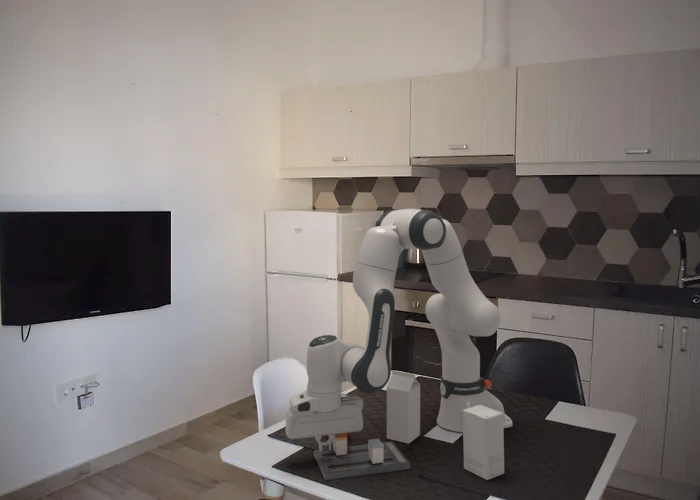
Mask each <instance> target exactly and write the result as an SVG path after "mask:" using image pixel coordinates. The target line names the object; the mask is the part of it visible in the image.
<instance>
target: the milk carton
mask: <svg viewBox="0 0 700 500" xmlns="http://www.w3.org/2000/svg"><path fill="white" fill-rule="evenodd" d="M391 372H392V373H391V375H390V378H389V381H388V382H387V384H386V438H387V439H388V440H390V441H396V442H399V443H405V444H410V443H412V442H413V441H414V440H416V439H417V438H418V437H419V436H420V435H421V384H420V383H419V381H418V380H417V378H416V373H411V372H404V371H398V370H395V369H394V370H392V369H391Z"/></svg>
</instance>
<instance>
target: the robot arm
mask: <svg viewBox="0 0 700 500" xmlns="http://www.w3.org/2000/svg"><path fill="white" fill-rule="evenodd" d="M376 222H377V223H376V225H375V226H373V227H370V228H369V229H367V231H366V233H365V235H364V237H363V239H362V242H361V244H360V246H359V250H358V253H357V256H356V260H355V264H354V267H353V269H354V270H353V274H352V287H353V290H354V292H355V293H356V295H357V296H358V297H359V298H360V300H361V301H362V302H363V304H364V305H365V307H366V310H367V313H368V314H367V315H368V325H367V334H366V340H365V346H364V347H363V346H361V345H358V344H357V343H349V342H347V341H344V340H343V339H340V338H338V336H336V335H332V334H328V335H327V334H325V335H320V336H316V337H315V338H313V339H312V340H311V341H310V342H309V344H308V346H307V352H306V353H307V354H306V374H307V379H308V381H307V385H306V390H305V391H302V392H300V393H297V394H295V395H293V396H291V397H290V398H289V405H290V407H289V408H288V410H287V411H286V415H285V416H286V417H285V434H286V437H287V438H288V439H289V440H294V439H304V438H312V437H314V438H315V440H316V442H317V444H318V450H320V452H322V451H330V450H331V448H332V445H333V441H334V439H335V434H340V433H349V432H350V433H354V432H357V433H358V432H361V431H362V430H363V428H364V418H363V413H362V411H363V410H364V401H363V399H362V398H361V397H360V396H358V395H351V396H349V395H347V396H346V397H341V393H342V384H343V383H345V382H348V383H350V384H351V385H353V386H354V387H356V388H357V389H358V390H359V391H360V392H362V393H364V394H367V395H372V394H376V393H378V392H379V391H381V390H383V389H384V387H386V386H387V385H388V383H389V381H390V378H391V375H392V373H391V372H392V367H391V355H390V353H391V343H392V337H393V334H392V333H393V328H394V319H395V318H394V317H395V308H396V305H395V304H396V303H395V295H394V291H395V290H394V288H395V287H394V286H395V278H396V274H397V269H398V264H399V257H400V255H401V253H402V252H403V251H404V250H421V252H422V256H423V259H424V260H423V261H424V262H425V266H426V268H427V272H428V275H429V278H430V281H431V284H432V286H433V287H434V288H435V290H437V291H438V292H439V293H434V294H433V295H431V296H430V297H429V299H428V300H427V302H426V305H425V310H424V311H425V316H426V318H427V320H428V321H429V323H430V324H431V325H432V326H433V329H434V331H435V333H436V335H437V338H438V341H439V345H440V349H441V363H442V364H441V365H442V366H441V367H442V372H441V373H442V375H441V376H440V388H439V389H440V395H441V397H440V404H439V406H440V407H439V411H438V415H437V418H436V424H437V425H438V426H439V427H441V428H443V429H445V430H447V431H451V432H458V433H463V410H464V409H468V408H471V407H474V406H477V405H482V406H485V407H488V408H490V409H493V410H496V411H499V412H501V413H503V427H504V429H507V428H511V427H513V420H512V419H511V417H509V416H508V415H507V414H506V413H505V409H504V405H503V403H502V401H500V399H499V398H497V397H496V396H495V395H494V394H493V393H491V392H489V391H488V390H487V389H486V388H488V389H490V388H491V387H492V385H493V384H492V381H490V380H488V379H484V378H483V377H481V376H480V374H481V373H480V372H481V354H480V352H479V349H478V348H477V347H476V346H475V344H474V343H473V342H472V340H471V338H470V336H473V337H490V336H492V335H493V334H495V333H496V332H497V330H498V329H499V327H500V324H501V312H500V309H499V308H498V307H497V305H495V304H494V302H492V301H490V300H489V298H487V296H485V294H483V292H482V290H480V288H479V286H478V285H477V284H476V282H475V280H474V278H473V277H472V275H471V273H470V271H469V267H468V265H467V262H466V258H465V256H464V252H463V249H462V246H461V244H460V240H459V238H458V236H457V233H456V232H455V231H456V230H454V227H453V226H452V223H450V222H449V221H448V220H447V219H444V218H442V217H441V216H440V215H439V214H438V213H435V212H433V210H432V211H431V210H428V209H420V208H419V209H418V208H404V209H403V208H402V209H398V208H394V209H389V210H387V211H385V212H383V214H381V216H379V218H378V220H377V221H376ZM327 435H329V438H328V439H327V441H325V442H323V441H321V440H322V436H327Z"/></svg>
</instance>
